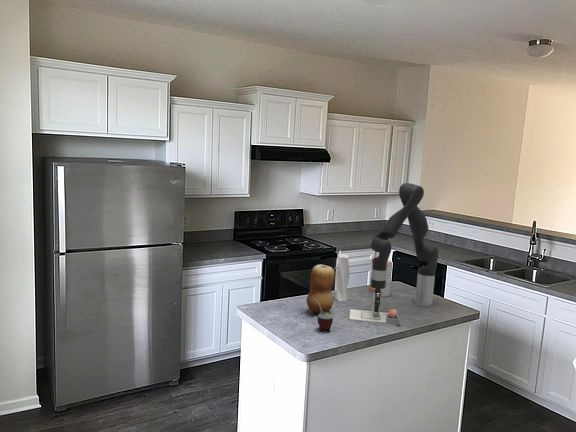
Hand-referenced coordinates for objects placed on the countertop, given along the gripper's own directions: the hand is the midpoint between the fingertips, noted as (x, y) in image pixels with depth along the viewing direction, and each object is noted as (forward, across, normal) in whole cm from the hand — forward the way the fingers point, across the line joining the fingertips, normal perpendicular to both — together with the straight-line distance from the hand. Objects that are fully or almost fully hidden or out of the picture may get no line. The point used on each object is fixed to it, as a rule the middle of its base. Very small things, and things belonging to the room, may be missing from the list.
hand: (376, 309), depth 240 cm
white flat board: (+5, 0, +1) cm, 5 cm away
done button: (+1, -6, -8) cm, 10 cm away
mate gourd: (+5, -24, +24) cm, 34 cm away
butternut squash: (+5, -2, +28) cm, 29 cm away
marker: (+4, 0, 0) cm, 4 cm away
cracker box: (+5, +42, -4) cm, 43 cm away
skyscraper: (+5, +22, +18) cm, 29 cm away
